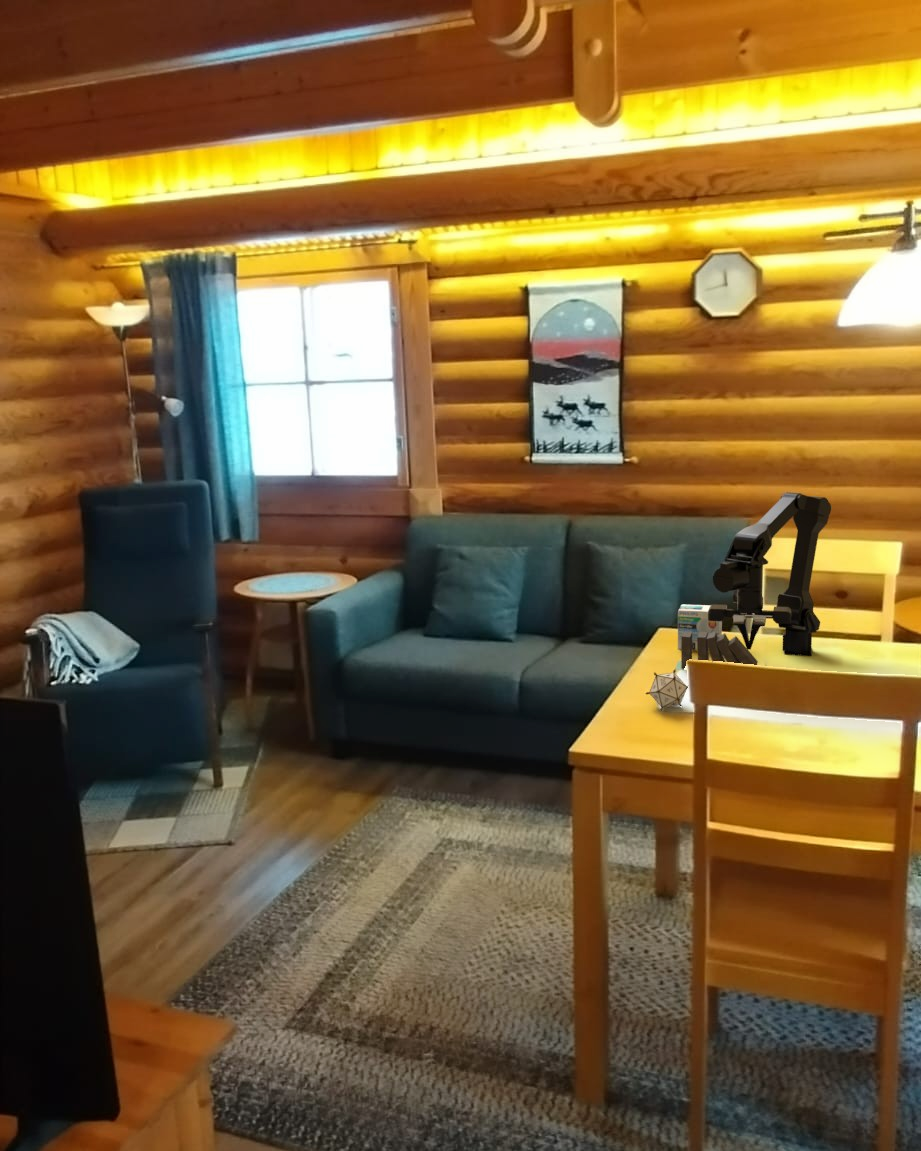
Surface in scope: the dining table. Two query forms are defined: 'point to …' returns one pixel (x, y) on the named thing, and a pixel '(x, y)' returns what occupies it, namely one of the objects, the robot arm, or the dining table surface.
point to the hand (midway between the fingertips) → (748, 648)
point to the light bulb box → (696, 622)
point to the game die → (668, 690)
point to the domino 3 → (714, 647)
